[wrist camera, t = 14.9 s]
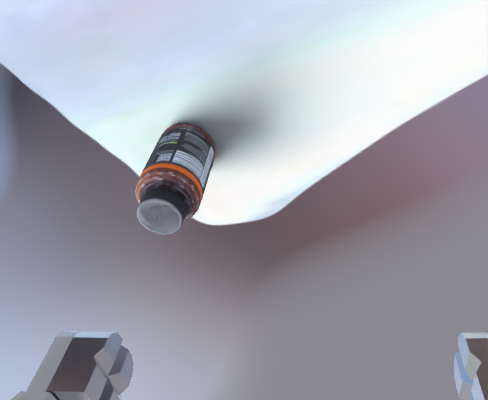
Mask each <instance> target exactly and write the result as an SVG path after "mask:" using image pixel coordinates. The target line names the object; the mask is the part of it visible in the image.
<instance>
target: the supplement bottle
mask: <svg viewBox="0 0 488 400" xmlns="http://www.w3.org/2000/svg"><path fill="white" fill-rule="evenodd" d="M214 156H215V149H214V145H213V142H212V140H211V138H210V137H209V136H208V135H207V134H206V133H205V132H204V131H203V130H201V129H199V128H198V127H196V126H193V125H188V124H178V125H174V126H171V127H169V128H168V129H167V130H165V131H164V133H163V134H162V135H161V137H160V139H159V141H158V143H157V144H156V146H155V148H154V150H153V152H152V154H151V156H150V158H149V160H148V162H147V164H146V166H145V168H144V170H143V172H142V174H141V176H140V178H139V180H138V182H137V185H136V198H137V201H138V203H139V205H138V208H137V217H138V220H139V221H140V223H141V224H142V225H143V226H144V227H145V228H147V229H148V230H150V231H152V232H155V233H158V234H171V233H174V232H176V231H177V230H178V229H179V228H180V227H181V226H182V223H183V221H186V220H188V219H189V218H191V217H192V216H193V215H194V214H195V213H196V212H197V210H198V208H199V206H200V203H201V200H202V197H203V194H204V190H205V187H206V183H207V180H208V177H209V174H210V171H211V168H212V166H213V165H212V164H213V161H214Z"/></svg>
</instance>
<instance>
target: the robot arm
mask: <svg viewBox="0 0 488 400" xmlns="http://www.w3.org/2000/svg"><path fill="white" fill-rule="evenodd" d="M121 342H122V338H121V337H120V335H119V334H118V332H80V331H77V332H61V333H59V334H58V335H57V336H56V337H55V339H54V341H53V343H52V344H51V346H50V348H49V350H48V352H47V354H46V356H45V357H44V359H43V361H42V363H41V365H40V367H39V368H38V370H37V372H36V374H35V376H34V378H33V380H32V381H31V383H30V385H29V387H28V389H27V391H21V392H20V393H19V394H17V395H16V396H15V397H14V398H12V399H11V400H121V397H120V394H121V393H122V392H123V391H124V390H125V389H126V388H127V387H128V386H129V383H130V380H131V377H132V371H133V361H132V356H131V354H130V352H129V350H128V349H126V348H125V347H123V346H121ZM457 343H458V346H459V350H460V351H459V352H457V353H456V354H455V357H454V377H455V383H456V387H457V391H458V395H459V397H460V398H461V399H462V400H488V333H461V334H460V335H459V337H458V342H457Z"/></svg>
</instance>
